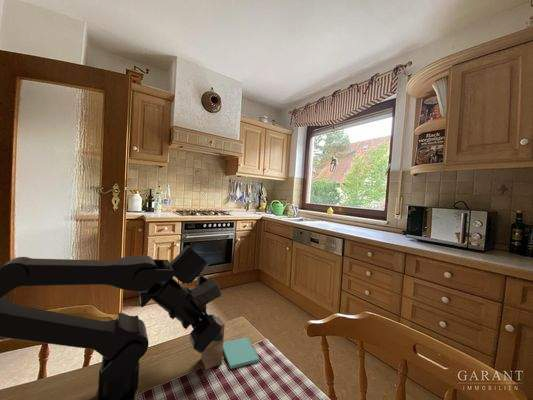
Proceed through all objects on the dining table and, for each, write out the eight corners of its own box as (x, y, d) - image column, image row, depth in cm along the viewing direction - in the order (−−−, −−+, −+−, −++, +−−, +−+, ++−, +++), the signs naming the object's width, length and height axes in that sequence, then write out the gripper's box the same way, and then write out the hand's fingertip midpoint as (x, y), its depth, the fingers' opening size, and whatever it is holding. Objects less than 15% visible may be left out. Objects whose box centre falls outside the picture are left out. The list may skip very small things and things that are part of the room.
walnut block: (205, 369, 55) (208, 328, 55) (200, 358, 59) (203, 319, 58) (221, 364, 57) (224, 324, 57) (216, 353, 61) (218, 316, 60)
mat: (230, 369, 56) (230, 365, 56) (221, 345, 64) (221, 342, 64) (259, 361, 59) (259, 358, 59) (247, 340, 67) (247, 337, 67)
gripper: (215, 285, 47) (258, 326, 53) (191, 259, 63) (227, 292, 69) (171, 333, 43) (223, 371, 49) (158, 292, 59) (198, 324, 65)
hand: (218, 333), depth 58 cm, fingers closed on walnut block, 4 cm apart
